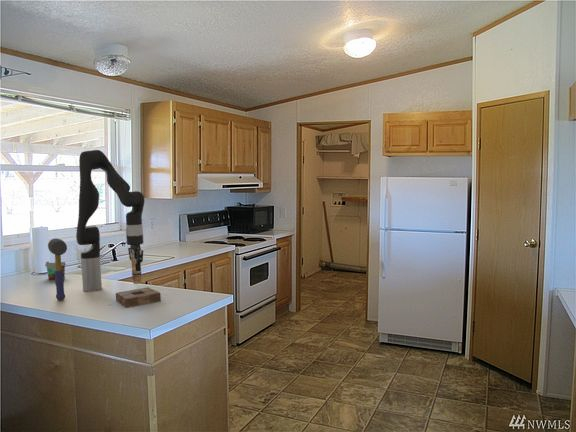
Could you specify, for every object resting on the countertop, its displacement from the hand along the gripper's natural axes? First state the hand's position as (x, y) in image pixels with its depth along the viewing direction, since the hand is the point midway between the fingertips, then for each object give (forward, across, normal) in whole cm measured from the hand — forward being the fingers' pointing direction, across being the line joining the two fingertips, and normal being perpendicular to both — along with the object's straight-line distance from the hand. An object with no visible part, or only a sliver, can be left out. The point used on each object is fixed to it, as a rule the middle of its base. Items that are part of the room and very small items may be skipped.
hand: (136, 270), depth 222 cm
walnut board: (+15, 0, 0) cm, 15 cm away
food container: (+15, -82, -20) cm, 85 cm away
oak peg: (+6, 0, 0) cm, 6 cm away
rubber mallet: (+15, -28, -28) cm, 42 cm away
